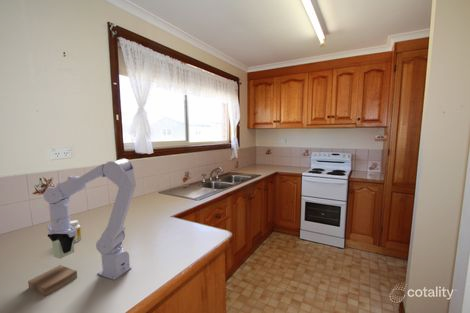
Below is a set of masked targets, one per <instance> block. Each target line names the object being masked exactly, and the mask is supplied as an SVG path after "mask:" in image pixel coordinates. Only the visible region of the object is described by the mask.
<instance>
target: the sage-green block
mask: <svg viewBox="0 0 470 313" xmlns="http://www.w3.org/2000/svg"><path fill="white" fill-rule="evenodd" d="M51 243H52V251H53V257H54V258H57V259H63V258H65V257H67V256H69V255H71V254H73V253H75V245H74V243H75V242H72V246H71V251H69V252H67V253H63V250H62V246H61V243H60V242H59V240H58V239H57V240H55V241H52V240H51Z"/></svg>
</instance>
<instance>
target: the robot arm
mask: <svg viewBox="0 0 470 313" xmlns="http://www.w3.org/2000/svg"><path fill="white" fill-rule="evenodd" d="M134 171H135V166H134V165H133V163H132V162H131V161H130V160H129V159H127V158H119V159H117V160H116V159H115V160H112V161H107V162H106V163H102V164H99V165H97V166H96V167H94V168H93V169H90V170H89V171H87V172H86V173H84V174H83V175H81V176H79V175H70V176H68V177H67V179H66V180H65V181H62V182H58V183H56V186H51V187H47V189H45V191H44V192H43V199H44V201H45V202H47V203H48V208H49V216H50V217H49V219H50V224H49V225H47V233H48V234H47V237H48V238H49V239H50V240H51V242H52V241H55V240H57V239H58V240H59V242H60V243H61V246H62V250H63V253H67V252H69V251H71V246H72V242H73V239H74V237H75V236H76V230H74V229H73V228H72V226H71V225H70V221H71V217H70V206H69V205H70V204H69V203H70V198H71V196H73V195H75V194H76V193H78V192H80V191H82V190H83V189H85V188H86V186H87V185H86V184H88V183H89V182H92V181H95V180H96V179H99V178H100V177H102V178H105V177H106V178H107V179H108V180H109V181H110V182H112V183H113V184H114V185H115V186H117V187H118V189H117V194H116V196H115V200H114V203H113V207H112V210H111V213H110V216H109V220H108V223H107V226H106V228H105V229H104V230H103V232H102V234H101V237H100V238H99V239H98V240H97V241H96V244H95V247H96V250H97V251H98V252H99V253H100V255H101V256H100V257H101V266H102V268H101V270H99V271H97V273H96V274H97V275H100V276H102V277H105V278H107V279H111V280H116V279H118V278H120V277H121V276H122V275H123V274H125V273H127V271H129V270H131V269H132V268H133V267H132V266H131V265H130V264H131V262H130V254H129V252H128V251H126V250H125V249H124V247H123V241H124V240H125V237H126V232H125V230H126V227H125V226H124V225H125V221H126V217H127V214H128V211H129V208H130V205H131V202H132V198H133V196H134V192H135V188H136V185H137V182H136V177H135V173H134ZM73 243H74V242H73Z"/></svg>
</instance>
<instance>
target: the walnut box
mask: <svg viewBox="0 0 470 313" xmlns="http://www.w3.org/2000/svg"><path fill="white" fill-rule="evenodd" d="M77 278H78V272H77V270H75V269H72V268H70V267H67V266H63V265H61V264H59V265H58V266H56V267H53V268H51V269H49V270H47V271H45V272H43V273H41V274H39V275H37V276H36V277H33V278H31V279H29V280H28V281H27V283H28V285H27V286H28V289H30V290H32V291H34V292H37V293H39V294H41V295H44V296H48V295H50V294H52V293H53V292H55V291H57V290H58V289H61V287H65V285H67V284H69V283H70V282H72V281H74V280H76V279H77Z"/></svg>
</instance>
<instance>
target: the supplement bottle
mask: <svg viewBox="0 0 470 313" xmlns="http://www.w3.org/2000/svg"><path fill="white" fill-rule="evenodd" d="M70 225H71V226H72V228H73V229H74V230H76V236H75V237H74V239H73V243H76V242H77V243H78V242H79V241H81V240H82V230H81V225H80V224H79V220H78V219H74V220H70Z"/></svg>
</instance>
